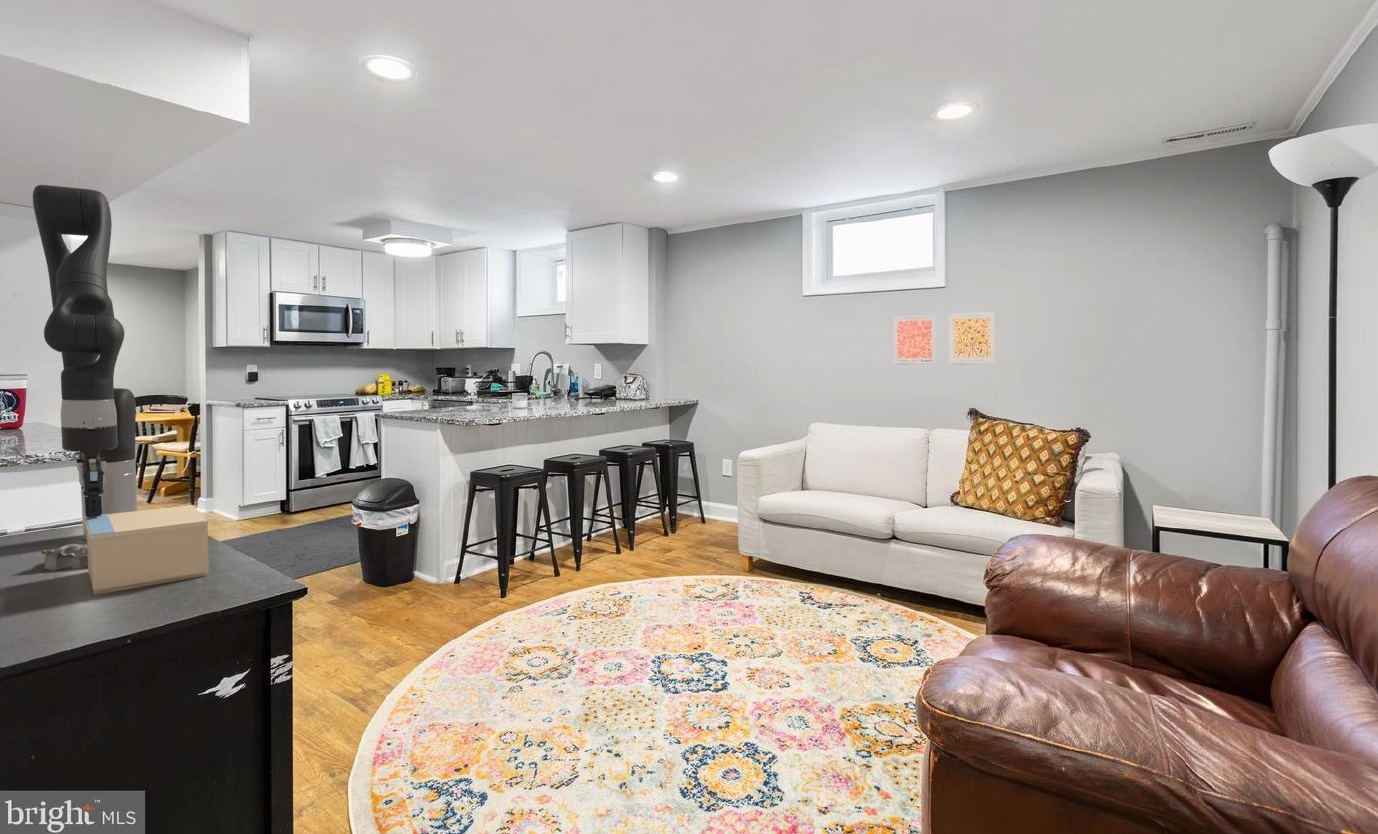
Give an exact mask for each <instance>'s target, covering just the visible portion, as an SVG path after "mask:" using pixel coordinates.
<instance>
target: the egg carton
mask: <svg viewBox="0 0 1378 834" xmlns="http://www.w3.org/2000/svg"><path fill="white" fill-rule="evenodd" d="M40 554H42V555H45V556H44V558H43V561H44V562H43V565H44V570H49V571H56V570H59V569H64V568H72V569H79V568H84V567H88V553H87V543H86V544H79V543H68V544H66V545H65V544H64V545H62V546H60V547H59V548H55V549H53V550H45V549H43V550H41V553H40Z"/></svg>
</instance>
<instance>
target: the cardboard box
mask: <svg viewBox="0 0 1378 834" xmlns="http://www.w3.org/2000/svg"><path fill="white" fill-rule="evenodd" d="M208 530H209V529H208V525H203V526H195V527H187V528H179V529H172V530H164V531H156V532H148V533H140V534H132V535H125V536H117V537H109V538H101V539H93V540H90V539H89V535H88V531H87V528H86V531H87V540H86V544H87V553H88V566H87V569H88V570H87V571H88V576H89V580H90V584H91V589H92V593H93V596H96V595H97V596H98V595H103V594H109V593H113V592H115V593H116V592H119V591H126V590H127V591H128V590H131V589H137V588H144V587H149V586H154V585H161V584H166V583H173V582H178V581H183V580H190V579H195V578H197V579H198V578H201V577H209V576H210V568H209V567H210V566H209V565H210V562H209V561H210V559H209V558H210V557H209V532H208Z"/></svg>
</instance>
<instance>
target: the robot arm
mask: <svg viewBox="0 0 1378 834" xmlns="http://www.w3.org/2000/svg"><path fill="white" fill-rule="evenodd" d="M32 205H33V211H34V216H35V219H36V224H37V229H38V232H39V236H40V241H41V245H42V248H43V252H44V257H45V262H46V266H47V271H48V279H49V287H50V289H49V290H50V294H51V303H52V311H51V312H50V315H49V316H48V319H47V321H46V323H45V325H44V330H43V338H44V341H45V342H46V344H47V346H49V348H51V349H52V350H54V351H56V352H59V353H61V358H62V364H63V365H62V366H63V370H62V371H61V374H60V387H61V392H60V393H61V407H60V430H61V448H62V450H64V451H66V452H79V454H78V456H79V458H77V459H75V461H76V463H75V464H76V465H75V466H76V469H77V471H78V482H79V485H80V493H81V496H80V497H81V512H82V513H81V514H82V515H81V519H82V539H83V540H84V541H87V531H86V524H85V520H84V517H97V516H101V515H102V514H114V513H124V512H133V511H138V490H137V489H138V488H137V469H136V465H137V464H136V422H137V421H136V418H137V415H136V414H137V403H136V399H135V394H134V393H133V392H132V391H131V390H130V389H127V388H117V387H116V388H115V387H114V376H115V368H116V363H117V361H118V357H119V354H120V351H121V349H122V345H123V343H124V339H125V327H124V326H123V325H122V323H121V322H120V321H119V320H118V319H117V318H116V317H115V314H114V313H115V312H114V306H113V301H112V298H111V297H110V295H109V291H108V281H107V280H108V279H107V272H108V269H107V268H108V263H109V262H108V261H109V255H110V250H111V249H110V248H111V239H112V225H113V224H112V214H111V213H112V212H111V208H110V204H109V201H108V198H107V196H105V194H104V193H102V191H99V190H94V189H89V188H88V189H87V188H80V187H68V186H58V185H49V184H38V185H36V186H35V187H34V189H33V191H32ZM62 235H63V236H64V235H69V236H80V237H81V236H82V237H83V236H84V237H86V236H87V238H86V239H85V240H84V241H83V242H82V243H81V245H79V246H78V247H77V248H76V249H74V250H73V251H72V252H70V250H69V248H68V247H67V244H66V242H65V241H64V239H63V236H62Z"/></svg>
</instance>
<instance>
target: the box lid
mask: <svg viewBox="0 0 1378 834" xmlns="http://www.w3.org/2000/svg"><path fill="white" fill-rule="evenodd" d="M84 520H85V524H86V528H87V531H88V535H89V539H90V540H93V539H101V538H109V537H117V536H125V535H132V534H140V533H148V532H156V531H164V530H172V529H179V528H187V527H195V526H203V525H208V522H209V521H208V519H207V518H205V516H204V515H203V514H202V513H201V512H200V511H199V510H198V509H197V508H196V507H195V506H194V505H193V504H191V505H189V504H188V505H181V506H172V507H162V508H161V507H160V508H153V509H152V508H151V509H144V510H143V509H142V510H137V511H133V512H124V513H114V514H102V515H101V516H97V517H84Z"/></svg>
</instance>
